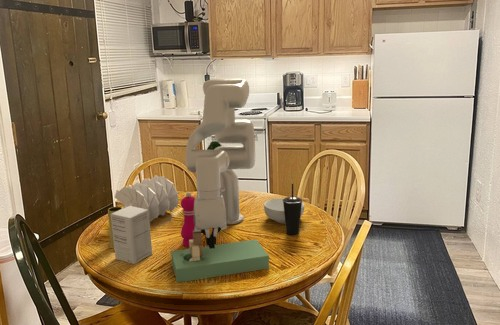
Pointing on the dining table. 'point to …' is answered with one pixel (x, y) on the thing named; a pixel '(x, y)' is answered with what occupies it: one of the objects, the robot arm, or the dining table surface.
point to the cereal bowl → (277, 210)
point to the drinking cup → (292, 214)
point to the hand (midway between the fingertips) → (211, 247)
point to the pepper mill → (188, 219)
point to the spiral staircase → (150, 196)
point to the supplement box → (131, 234)
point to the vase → (110, 211)
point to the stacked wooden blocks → (196, 246)
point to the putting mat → (220, 260)
